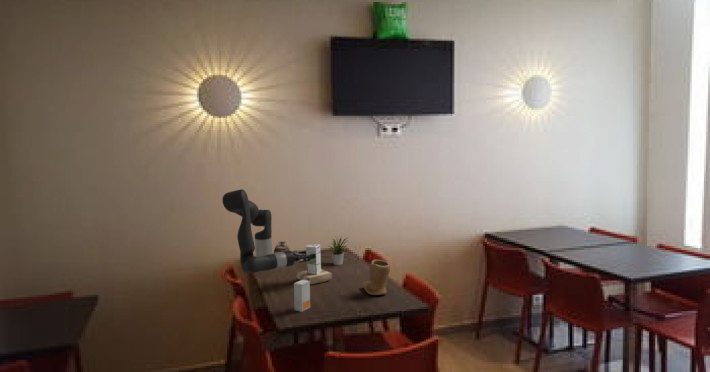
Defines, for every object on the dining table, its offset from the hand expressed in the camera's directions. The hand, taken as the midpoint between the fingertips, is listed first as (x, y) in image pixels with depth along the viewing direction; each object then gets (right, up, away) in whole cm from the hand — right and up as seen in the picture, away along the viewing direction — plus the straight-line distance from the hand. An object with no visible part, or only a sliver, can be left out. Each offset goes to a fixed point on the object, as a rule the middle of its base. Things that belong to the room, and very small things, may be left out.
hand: (311, 254), depth 248 cm
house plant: (+14, -10, +33) cm, 37 cm away
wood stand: (+1, -14, +2) cm, 14 cm away
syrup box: (+1, -10, +2) cm, 10 cm away
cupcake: (-22, -9, +49) cm, 55 cm away
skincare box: (0, -18, -38) cm, 42 cm away
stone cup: (+33, -15, -17) cm, 40 cm away
